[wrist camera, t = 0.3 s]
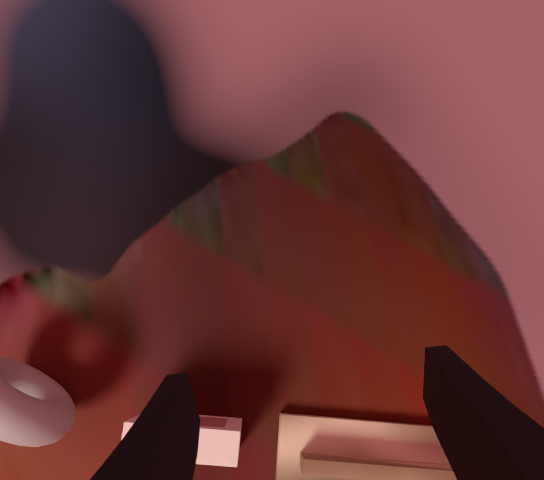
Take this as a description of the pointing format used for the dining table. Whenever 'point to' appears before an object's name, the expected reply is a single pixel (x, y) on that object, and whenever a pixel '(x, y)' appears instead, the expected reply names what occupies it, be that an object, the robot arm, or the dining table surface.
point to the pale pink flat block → (213, 440)
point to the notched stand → (358, 450)
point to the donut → (32, 406)
